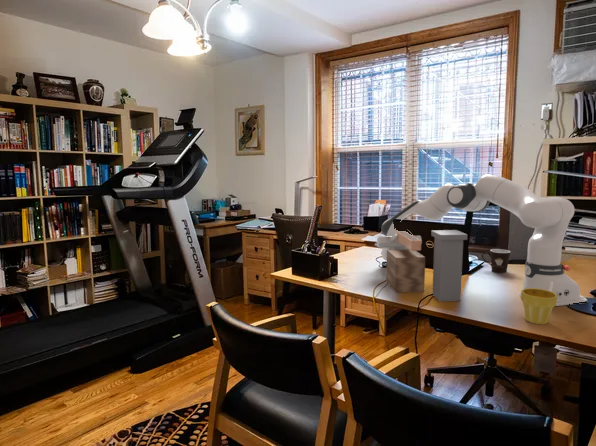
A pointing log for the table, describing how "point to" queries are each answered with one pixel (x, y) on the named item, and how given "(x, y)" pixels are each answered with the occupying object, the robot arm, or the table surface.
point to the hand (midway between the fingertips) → (402, 235)
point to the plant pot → (538, 304)
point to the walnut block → (405, 270)
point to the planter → (409, 240)
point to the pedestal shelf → (447, 264)
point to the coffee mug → (498, 260)
